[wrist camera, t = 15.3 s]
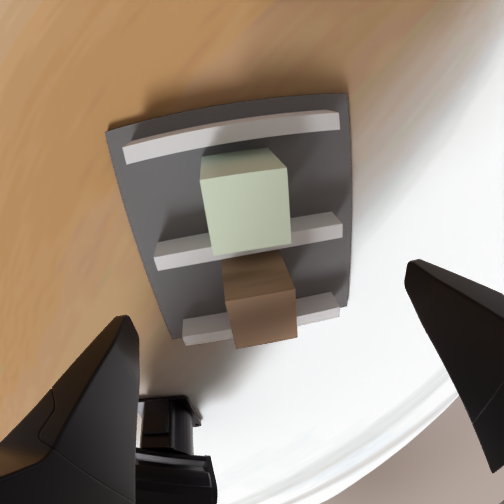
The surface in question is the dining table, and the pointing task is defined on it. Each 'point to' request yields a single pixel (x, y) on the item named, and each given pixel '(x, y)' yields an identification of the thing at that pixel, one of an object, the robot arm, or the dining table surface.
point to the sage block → (245, 200)
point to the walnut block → (259, 298)
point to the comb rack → (193, 212)
